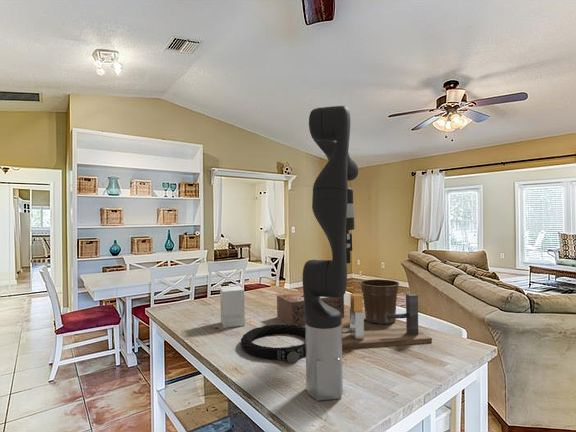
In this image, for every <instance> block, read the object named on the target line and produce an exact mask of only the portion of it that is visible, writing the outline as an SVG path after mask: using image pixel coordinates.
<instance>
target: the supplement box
mask: <svg viewBox="0 0 576 432" xmlns="http://www.w3.org/2000/svg"><path fill="white" fill-rule="evenodd" d="M219 295H220V297H219V298H220V323H221V325H222V328H223V329H228V328H236V327H244V326H246V318H245V317H246V315H245V314H246V312H245V289H244V288H243V287H242V286H240V285H238V286H237V285H236V286H227V287H225V286H224V287H223V286H222V287H220V291H219Z"/></svg>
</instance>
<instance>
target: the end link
mask: <svg viewBox="0 0 576 432" xmlns="http://www.w3.org/2000/svg"><path fill="white" fill-rule="evenodd" d="M349 294H350V295H349V296H350V297H349V298H350V307H349V327H347V328H346V327H345V328H342V333H350V334H351V335H352V336H353V337H354V338H355V339H364V331H365V320H364V316H365V311H363V294H360V293H359V292H358V293H349Z"/></svg>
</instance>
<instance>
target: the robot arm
mask: <svg viewBox="0 0 576 432" xmlns="http://www.w3.org/2000/svg"><path fill="white" fill-rule="evenodd" d="M308 117H309V118H308V128H309V129H308V130H309V133H310V136H311V138H312V140H313V141H314V142H315V144H316V145H317V147H318V148H319V149H320V150H321V151H322V152H323V154H324V155H325V156H326V158H327V163H326V164H325V165H324V166H323V168H322V169H321V171H320V172H319V173H318V175H317V177H316V179H315V181H314V182H313V186H312V199H311V200H312V202H311V203H312V204H311V208H312V213H313V215H314V217H315V219H316V221H317V222H318V224H319V226H320V227H321V229H322V231H323V232H324V234H325V236H326V238H327V240H328V243H329V245H330V249H331V254H332V255H331V258H332V259H309V260H307V261H306V262H305V263H304V266H303V269H302V290H303V291H302V292H303V295H304V313H305V324H304V325H305V326H304V327H305V333H306V335H305V337H306V338H305V337H304V338H305V343H306V355H305V377H306V378H305V380H306V381H305V382H306V384H305V385H306V388H305V389H306V393H307V394H308V395H309V396H310V397H312V398H314V399H315V401H328V400H338V399H342V395H343V393H344V391H343V390H344V388H343V386H344V385H343V383H344V382H343V381H344V380H343V379H344V377H343V349H342V329H343V328H342V327H343V325H342V324H343V321H342V319H343V318H342V317H341V313H340V312H339V311H338V310H337V309H335V308H333V307H330V306H329V305H327V304H326V303H324V302H323V301H322V300H321V298H320V297H333V298H341V297H343V296H344V297H345V294H346V292H347V287H348V264H350V263H351V253H352V252H353V233H350V231H353V230H355V206H354V190H353V188H351V187H348V182H349V181H354V180H356V178H357V177H358V174H359V167H358V164H357V163H356V161H355V159H354V158H352V157H351V156H350V153H349V146H350V145H349V144H350V137H351V136H350V135H351V113H350V109H349V107H347V106H346V105H335V106H334V105H333V106H323V107H322V106H321V107H315V108H313V109H312V110H311V111H310V113H309V116H308Z"/></svg>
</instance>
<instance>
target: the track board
mask: <svg viewBox="0 0 576 432" xmlns="http://www.w3.org/2000/svg"><path fill="white" fill-rule="evenodd" d="M418 296H419V295H418V294H416V293H406V294H405V313H396V314H388V315H386V317H387V319H395V320H397V319H406V321H405V322H406V323H405V324H406V327H400V328H388V329H387V328H385V329H372V330H371V329H369V330H364V339H355V338H354V337H353V336H352V335H351V334H350V333H342V350H348V349H360V348H361V349H364V348H374V347H375V348H376V347H388V346H389V347H390V346H391V347H392V346H404V345H416V344H417V345H419V344H429V343H432V342H433V338H432V337H431V336H429V335H427V334H426V333H424V332H422V331H421V330H419V297H418Z"/></svg>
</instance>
